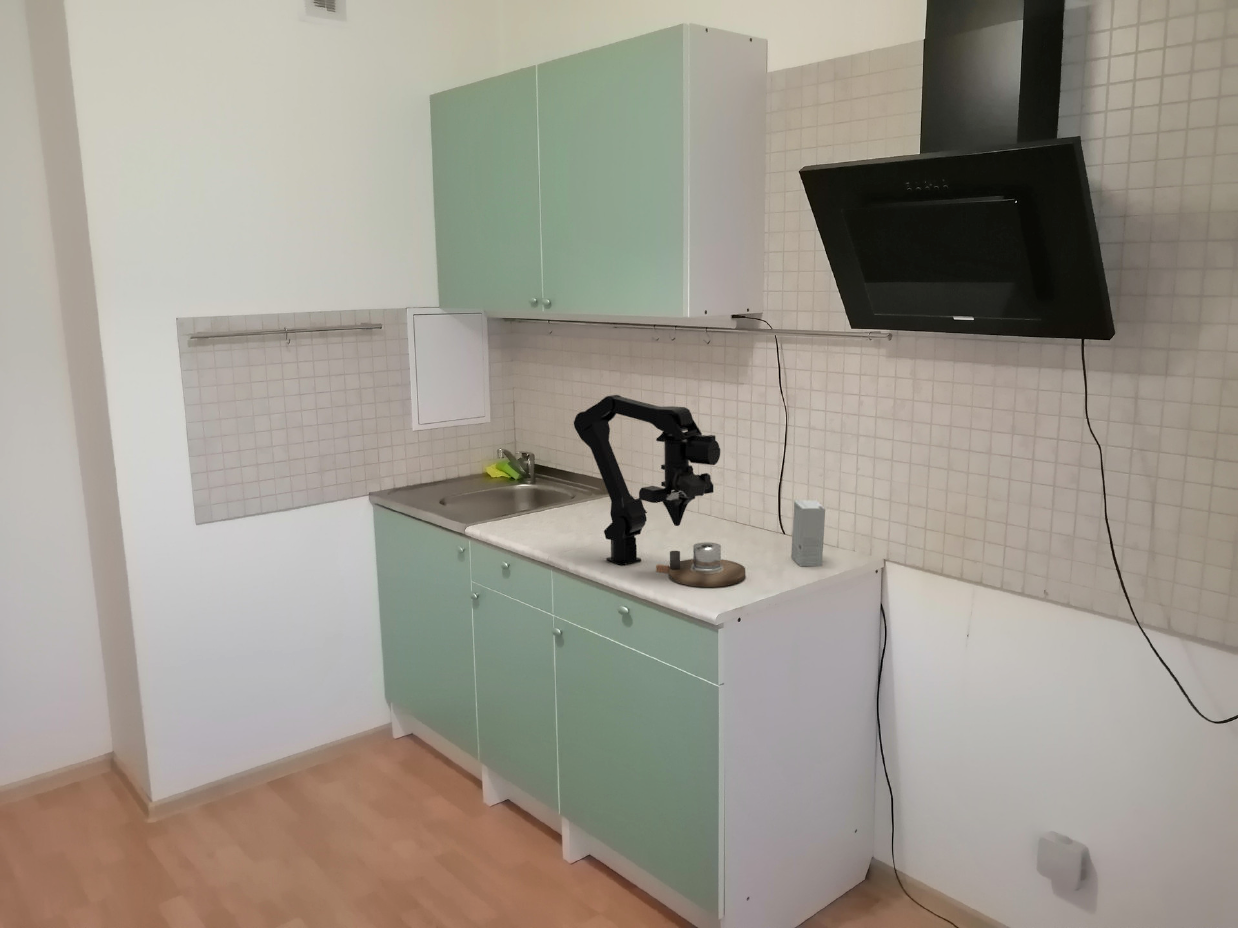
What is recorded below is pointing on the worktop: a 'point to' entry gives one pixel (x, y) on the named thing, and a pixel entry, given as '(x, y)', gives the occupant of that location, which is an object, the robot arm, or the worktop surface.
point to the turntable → (687, 576)
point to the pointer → (662, 568)
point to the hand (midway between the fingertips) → (676, 525)
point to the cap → (706, 557)
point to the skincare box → (808, 533)
